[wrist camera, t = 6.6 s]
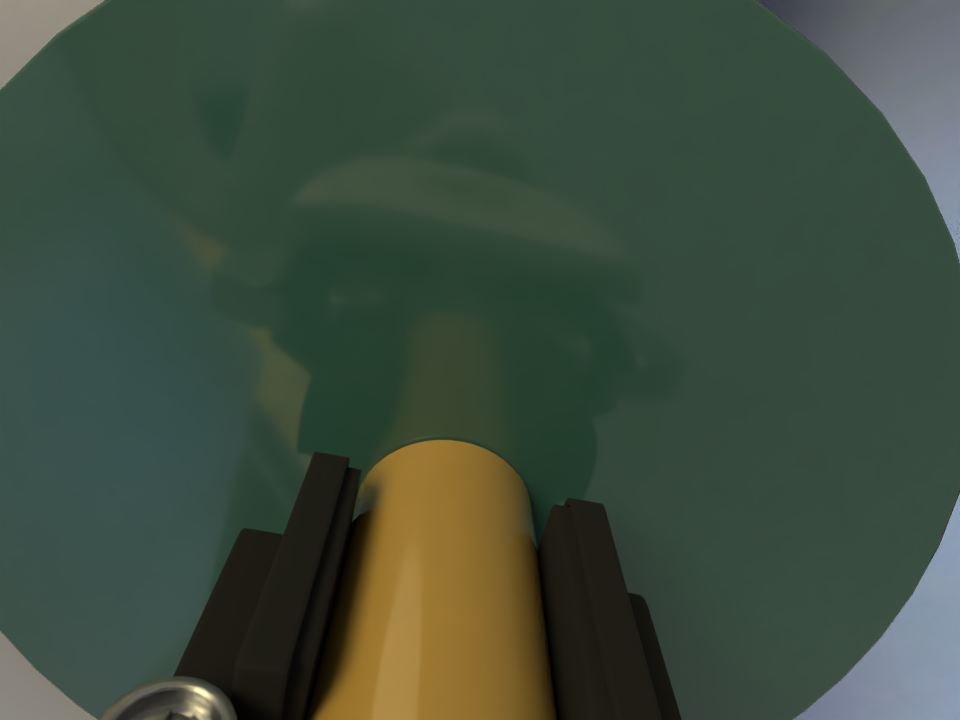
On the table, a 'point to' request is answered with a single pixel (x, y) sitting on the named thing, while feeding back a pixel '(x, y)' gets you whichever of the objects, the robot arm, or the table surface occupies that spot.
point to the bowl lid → (468, 340)
